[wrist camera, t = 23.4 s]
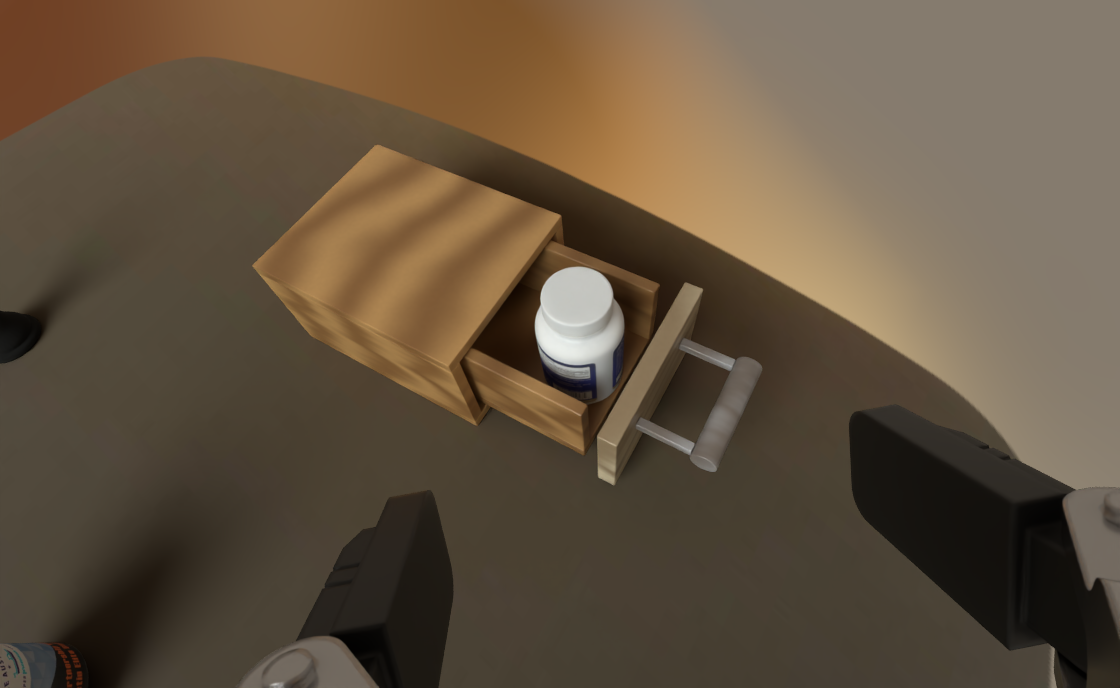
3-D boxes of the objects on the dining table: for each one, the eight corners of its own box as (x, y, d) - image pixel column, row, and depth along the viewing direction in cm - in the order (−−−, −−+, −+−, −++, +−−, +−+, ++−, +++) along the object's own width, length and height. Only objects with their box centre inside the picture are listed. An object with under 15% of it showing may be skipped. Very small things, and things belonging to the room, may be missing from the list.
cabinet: (568, 293, 45) (561, 215, 37) (477, 426, 39) (448, 366, 32) (410, 225, 49) (376, 143, 42) (310, 335, 44) (251, 265, 37)
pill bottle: (590, 324, 41) (586, 241, 33) (638, 376, 38) (647, 299, 31) (528, 366, 39) (510, 288, 32) (574, 422, 37) (567, 353, 29)
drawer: (758, 376, 39) (785, 321, 33) (689, 526, 34) (707, 493, 28) (515, 271, 45) (502, 209, 39) (429, 386, 40) (399, 335, 34)
